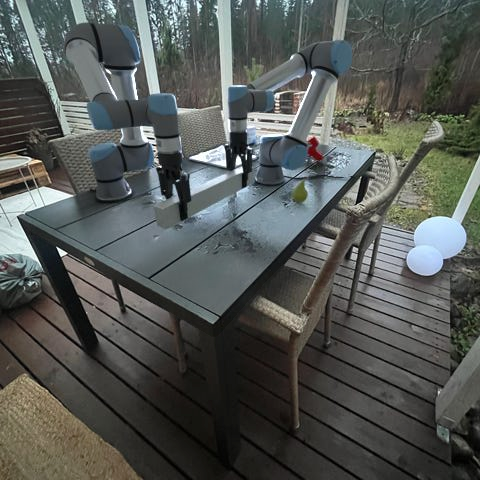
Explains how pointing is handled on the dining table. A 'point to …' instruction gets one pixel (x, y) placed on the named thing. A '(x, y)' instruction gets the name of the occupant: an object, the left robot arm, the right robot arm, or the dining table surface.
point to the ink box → (251, 134)
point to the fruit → (300, 192)
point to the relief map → (216, 157)
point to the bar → (201, 197)
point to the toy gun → (313, 149)
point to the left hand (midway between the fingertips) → (178, 216)
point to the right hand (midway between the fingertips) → (239, 185)
